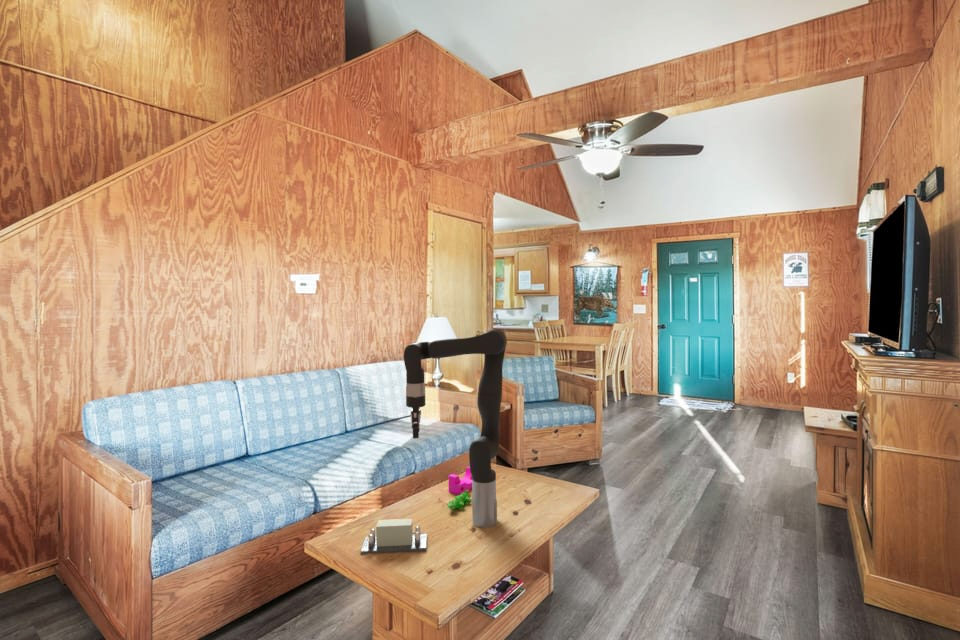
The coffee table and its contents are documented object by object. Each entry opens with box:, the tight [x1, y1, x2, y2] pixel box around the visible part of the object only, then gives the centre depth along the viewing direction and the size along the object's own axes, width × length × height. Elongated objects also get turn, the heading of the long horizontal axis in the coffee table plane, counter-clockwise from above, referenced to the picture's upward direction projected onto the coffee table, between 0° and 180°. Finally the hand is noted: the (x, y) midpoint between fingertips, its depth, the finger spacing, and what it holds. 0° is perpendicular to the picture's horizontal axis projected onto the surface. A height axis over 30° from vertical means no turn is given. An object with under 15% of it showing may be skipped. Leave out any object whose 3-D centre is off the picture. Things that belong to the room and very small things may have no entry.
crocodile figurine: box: [447, 490, 472, 512], centre depth 201 cm, size 7×18×4 cm, turn 155°
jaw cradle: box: [360, 525, 428, 555], centre depth 168 cm, size 22×10×5 cm, turn 95°
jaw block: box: [375, 518, 413, 547], centre depth 168 cm, size 5×12×7 cm, turn 94°
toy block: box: [448, 465, 472, 496], centre depth 220 cm, size 15×6×8 cm, turn 143°
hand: (416, 435), depth 188 cm, fingers open, 8 cm apart
